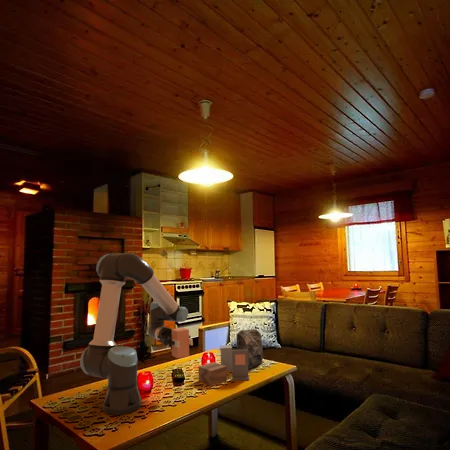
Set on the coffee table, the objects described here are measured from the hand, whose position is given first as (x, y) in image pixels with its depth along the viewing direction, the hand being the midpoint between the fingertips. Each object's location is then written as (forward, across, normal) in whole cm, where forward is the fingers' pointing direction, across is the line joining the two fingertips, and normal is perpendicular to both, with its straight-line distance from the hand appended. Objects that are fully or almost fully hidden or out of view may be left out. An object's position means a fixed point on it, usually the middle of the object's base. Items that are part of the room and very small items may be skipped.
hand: (185, 343), depth 157 cm
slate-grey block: (-19, -34, -22) cm, 45 cm away
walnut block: (-8, -19, -22) cm, 30 cm away
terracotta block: (-5, 0, -6) cm, 8 cm away
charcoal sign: (-1, -31, -22) cm, 38 cm away
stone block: (-15, -48, -23) cm, 56 cm away
